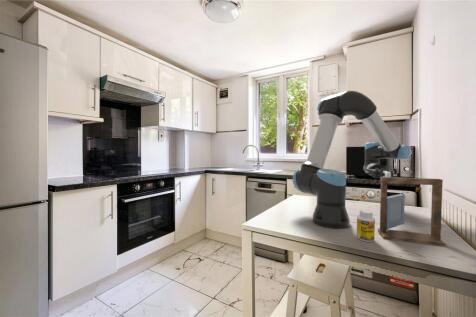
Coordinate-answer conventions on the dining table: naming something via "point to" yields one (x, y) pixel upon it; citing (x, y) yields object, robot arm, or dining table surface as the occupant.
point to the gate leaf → (395, 210)
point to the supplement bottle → (365, 226)
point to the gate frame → (435, 212)
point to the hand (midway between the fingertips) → (388, 175)
